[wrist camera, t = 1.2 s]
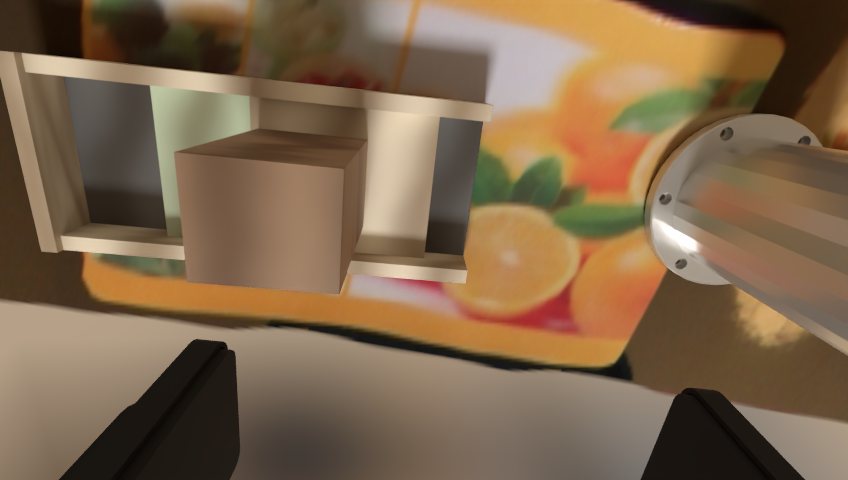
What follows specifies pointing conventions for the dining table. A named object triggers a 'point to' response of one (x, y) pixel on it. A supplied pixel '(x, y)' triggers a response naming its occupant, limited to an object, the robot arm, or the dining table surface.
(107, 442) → the robot arm
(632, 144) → the dining table surface
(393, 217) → the channel board
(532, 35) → the dining table surface
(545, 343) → the dining table surface
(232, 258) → the walnut block
